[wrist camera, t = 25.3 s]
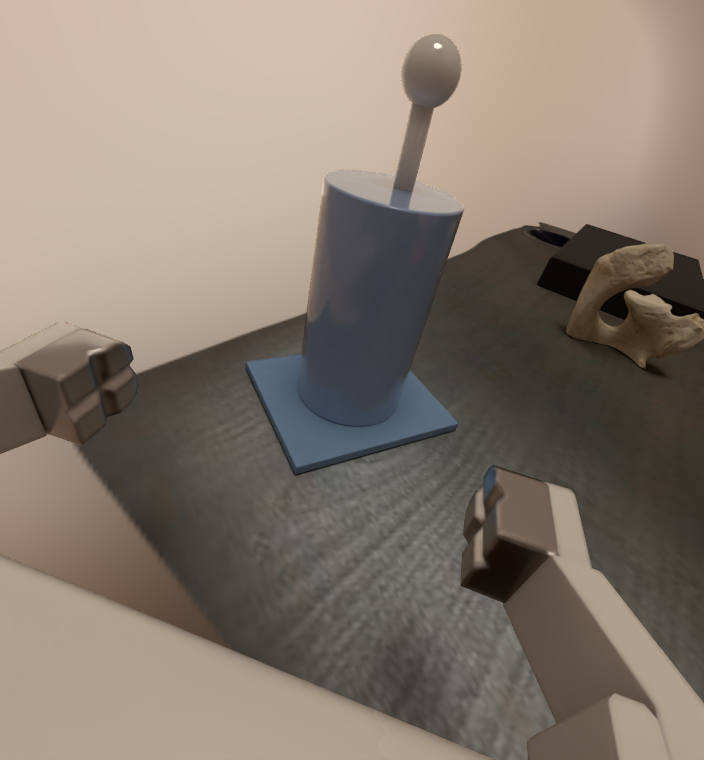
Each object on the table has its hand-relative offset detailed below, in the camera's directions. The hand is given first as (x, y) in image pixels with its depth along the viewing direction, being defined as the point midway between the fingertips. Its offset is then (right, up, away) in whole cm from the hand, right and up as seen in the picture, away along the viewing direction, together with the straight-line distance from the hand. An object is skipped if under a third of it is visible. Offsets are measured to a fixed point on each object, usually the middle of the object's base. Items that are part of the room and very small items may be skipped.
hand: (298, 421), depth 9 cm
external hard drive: (+32, +12, +38) cm, 51 cm away
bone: (+23, +4, +24) cm, 34 cm away
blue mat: (+1, 0, +13) cm, 13 cm away
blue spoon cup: (+1, 0, +12) cm, 12 cm away
